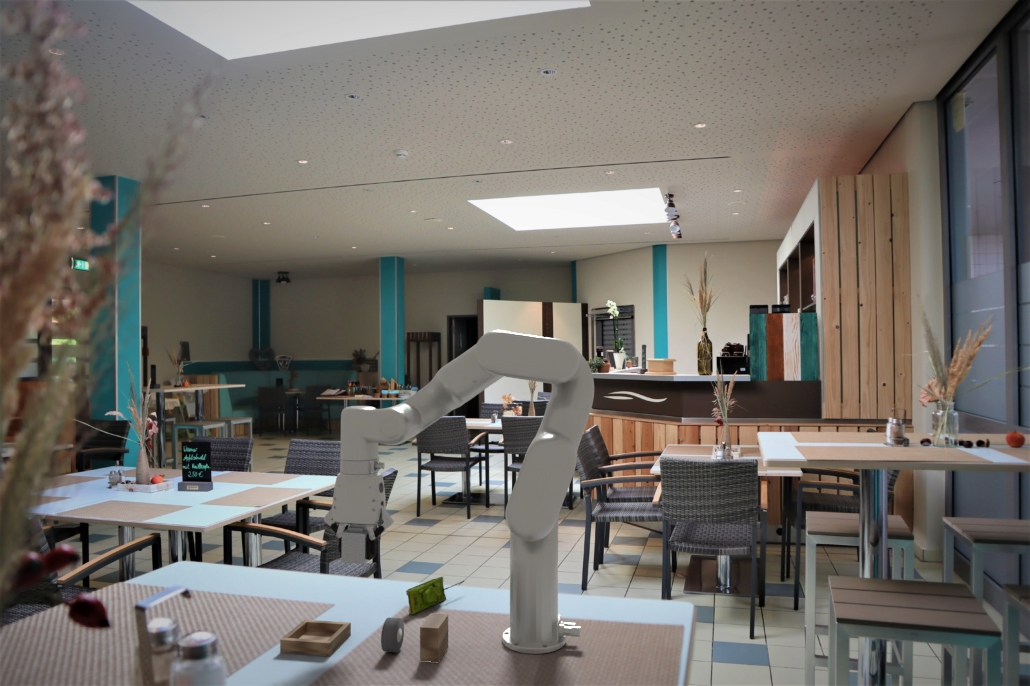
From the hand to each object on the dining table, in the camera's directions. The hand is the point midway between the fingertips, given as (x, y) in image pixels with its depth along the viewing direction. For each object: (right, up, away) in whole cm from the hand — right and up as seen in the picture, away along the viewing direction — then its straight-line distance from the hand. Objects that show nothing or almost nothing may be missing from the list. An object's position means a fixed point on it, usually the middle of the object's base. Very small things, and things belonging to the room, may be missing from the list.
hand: (357, 556), depth 141 cm
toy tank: (+15, -16, +17) cm, 28 cm away
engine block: (0, -1, 0) cm, 1 cm away
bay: (-7, -16, -4) cm, 18 cm away
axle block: (+17, -16, -9) cm, 25 cm away
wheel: (+9, -16, -8) cm, 20 cm away
